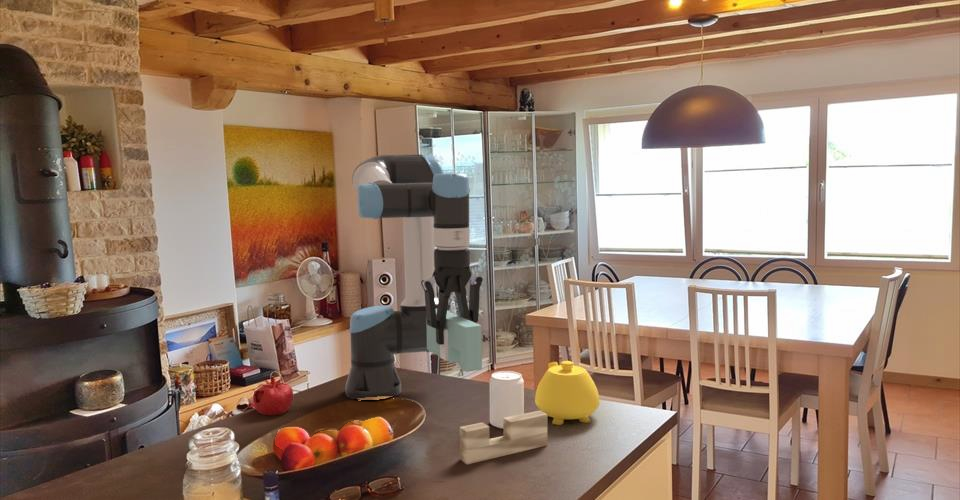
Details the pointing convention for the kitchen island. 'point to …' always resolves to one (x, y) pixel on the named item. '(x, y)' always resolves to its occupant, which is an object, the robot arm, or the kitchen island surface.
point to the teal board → (459, 342)
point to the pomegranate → (273, 397)
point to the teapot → (567, 393)
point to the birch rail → (503, 437)
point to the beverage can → (505, 396)
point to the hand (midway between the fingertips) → (453, 357)
